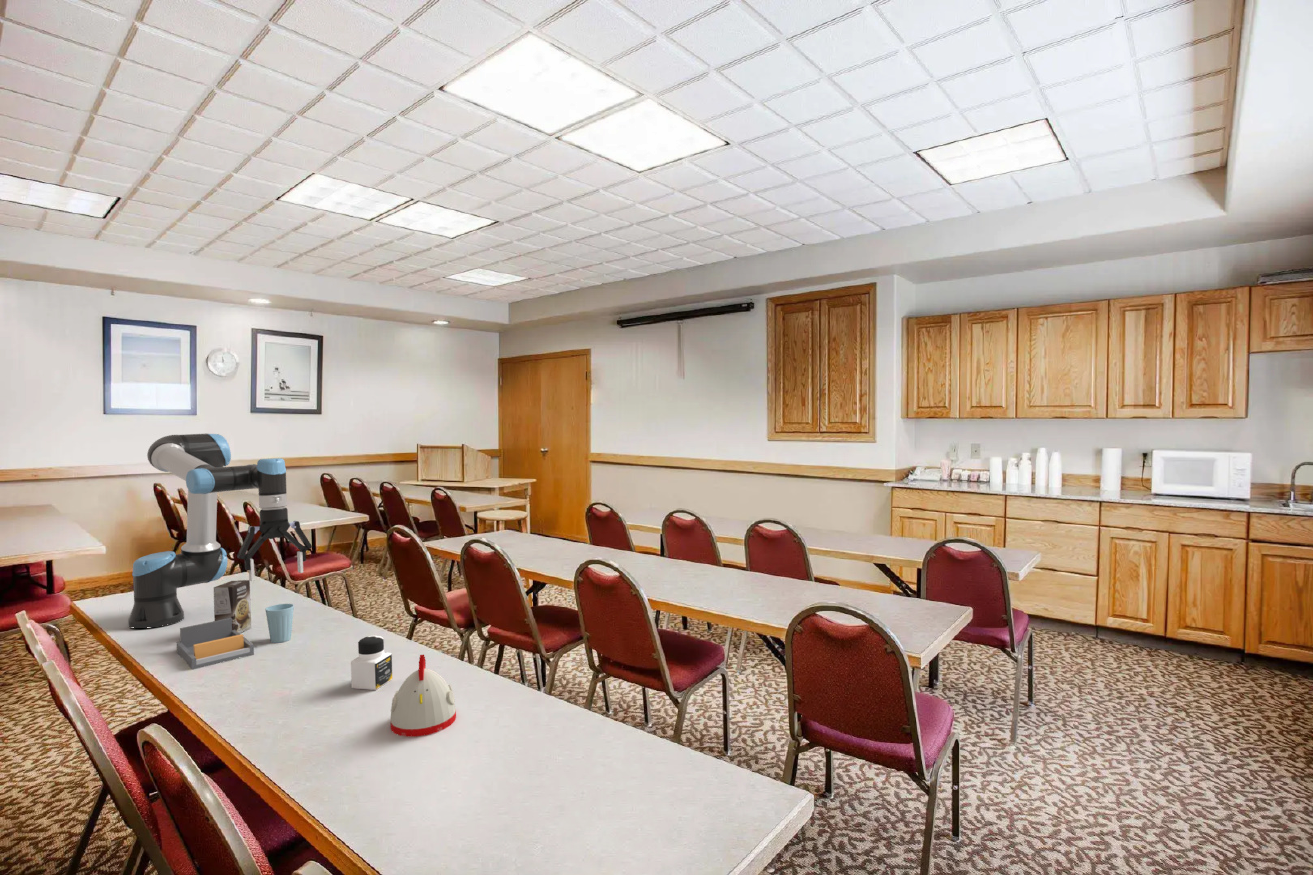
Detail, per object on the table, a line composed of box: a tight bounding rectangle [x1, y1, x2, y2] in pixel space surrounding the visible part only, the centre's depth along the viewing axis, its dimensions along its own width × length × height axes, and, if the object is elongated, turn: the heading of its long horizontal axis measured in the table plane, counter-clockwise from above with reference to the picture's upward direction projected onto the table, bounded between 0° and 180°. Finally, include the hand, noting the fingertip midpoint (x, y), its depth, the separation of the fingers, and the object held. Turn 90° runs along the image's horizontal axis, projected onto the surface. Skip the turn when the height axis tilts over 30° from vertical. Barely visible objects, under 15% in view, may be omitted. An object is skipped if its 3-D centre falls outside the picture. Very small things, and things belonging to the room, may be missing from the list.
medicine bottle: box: [350, 635, 393, 691], centre depth 168 cm, size 7×7×12 cm
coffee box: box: [213, 579, 252, 634], centre depth 212 cm, size 9×6×16 cm
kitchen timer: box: [390, 654, 457, 738], centre depth 147 cm, size 14×14×15 cm
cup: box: [265, 603, 295, 644], centre depth 204 cm, size 8×8×10 cm
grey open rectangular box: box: [176, 618, 255, 670], centre depth 193 cm, size 20×15×7 cm
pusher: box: [193, 633, 245, 659], centre depth 191 cm, size 6×12×4 cm, turn 136°
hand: (276, 576), depth 203 cm, fingers open, 13 cm apart
